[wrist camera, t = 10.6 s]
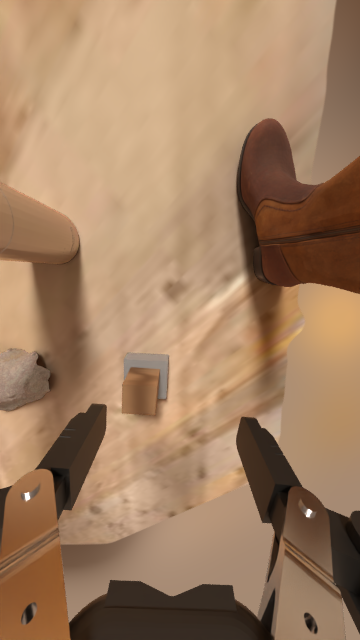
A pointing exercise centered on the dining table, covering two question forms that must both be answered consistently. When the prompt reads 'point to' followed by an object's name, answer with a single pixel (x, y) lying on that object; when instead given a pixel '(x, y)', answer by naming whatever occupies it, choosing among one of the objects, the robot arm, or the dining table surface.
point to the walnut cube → (140, 391)
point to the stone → (21, 379)
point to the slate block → (150, 362)
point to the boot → (299, 215)
